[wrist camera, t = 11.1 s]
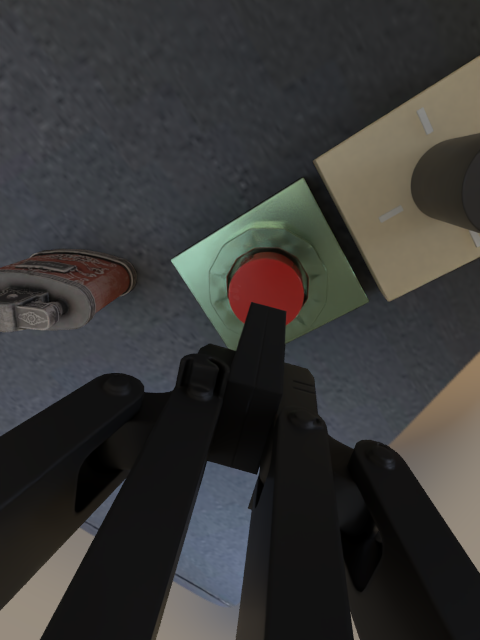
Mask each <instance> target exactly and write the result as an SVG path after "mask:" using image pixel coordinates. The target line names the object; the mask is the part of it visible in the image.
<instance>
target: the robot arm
mask: <svg viewBox="0 0 480 640" xmlns="http://www.w3.org/2000/svg"><path fill="white" fill-rule="evenodd" d="M286 312H287V311H284V310H280V309H277V308H273V307H269V306H265V305H262V304H258V303H254V302H251V304H250V307H249V311H248V314H247V317H246V320H245V323H244V327H243V330H242V333H241V336H240V339H239V343H238V346H237V349H236V351H235V350H231V349H228V348H224V347H220V346H216V345H213V344H208V345H206V346H204V347H202V348H200V350H199V352H198V354H189V355H186V356H184V357H183V358H182V359H181V361H180V366H179V371H178V376H177V381H176V386H175V388H174V390H173V391H170V392H165V393H148V392H144V385H143V384H142V383H141V381H140V380H138V379H136V378H135V377H133V376H130V375H127V374H122V373H121V374H120V373H111V374H104V375H102V376H99V377H97V378H95V379H93V380H92V381H90V382H88V383H87V384H85V385H84V386H82V387H80V388H79V389H77V390H75V391H74V392H72V393H71V394H69V395H67V396H66V397H64V398H62V399H61V400H59V401H57V402H56V403H54V404H53V405H51V406H49V407H48V408H46V409H44V410H43V411H41V412H39V413H38V414H36V415H35V416H33V417H31V418H30V419H28V420H26V421H25V422H23V423H22V424H20V425H18V426H17V427H15V428H13V429H12V430H10V431H8V432H7V433H5V434H4V435H2V436H0V610H1V609H2V608H3V607H4V606H5V605H6V604H7V603H8V602H9V601H10V600H11V599H12V598H13V597H14V595H15V594H16V593H17V592H18V591H19V590H20V589H21V588H22V587H23V586H24V585H25V584H26V583H27V582H28V581H29V580H30V579H31V578H32V576H34V575H35V573H36V572H37V571H38V570H39V569H40V568H41V567H42V566H43V565H44V564H45V563H46V562H47V561H48V560H49V559H50V558H51V557H52V556H53V554H54V553H55V552H56V551H57V550H58V549H59V548H60V547H61V546H62V545H63V544H64V543H65V542H66V541H67V540H68V539H69V538H70V536H72V534H73V533H74V532H75V531H76V530H77V529H78V528H79V527H80V526H81V525H82V524H83V523H84V522H85V521H86V520H87V519H88V518H89V517H90V516H91V514H92V513H93V512H94V511H95V510H96V509H97V508H98V507H99V506H100V505H101V504H102V503H103V502H104V501H105V500H106V499H107V498H108V497H109V495H110V494H111V493H112V492H113V491H114V490H115V489H116V488H117V487H118V486H119V485H120V484H121V483H122V482H123V481H124V480H125V479H126V480H125V482H124V483H123V485H122V487H121V489H120V491H119V493H118V495H117V496H116V498H115V500H114V502H113V504H112V506H111V508H110V510H109V511H108V513H107V515H106V517H105V519H104V521H103V523H102V525H101V526H100V528H99V530H98V532H97V534H96V536H95V538H94V540H93V541H92V543H91V545H90V547H89V549H88V551H87V553H86V555H85V557H84V558H83V560H82V562H81V564H80V566H79V568H78V569H77V571H76V574H75V575H74V577H73V579H72V581H71V583H70V585H69V586H68V588H67V590H66V592H65V594H64V596H63V598H62V600H61V602H60V603H59V605H58V607H57V609H56V611H55V613H54V614H53V616H52V618H51V620H50V622H49V624H48V626H47V628H46V629H45V631H44V633H43V635H42V637H41V639H40V640H156V637H157V634H158V630H159V627H160V623H161V620H162V616H163V613H164V609H165V606H166V602H167V599H168V596H169V592H170V588H171V585H172V582H173V578H174V575H175V571H176V568H177V564H178V561H179V557H180V554H181V551H182V547H183V544H184V540H185V537H186V533H187V530H188V526H189V523H190V519H191V516H192V512H193V509H194V505H195V502H196V499H197V495H198V492H199V488H200V485H201V481H202V478H203V474H204V471H205V467H206V463H207V461H210V462H214V463H217V464H221V465H224V466H228V467H231V468H235V469H239V470H242V471H246V472H249V473H253V474H256V475H257V473H258V470H259V467H260V472H259V476H258V479H257V482H256V485H255V488H254V491H253V494H252V497H251V500H250V503H249V507H248V509H252V513H251V521H250V529H249V537H248V545H247V553H246V561H245V569H244V577H243V585H242V593H241V601H240V609H239V618H238V626H237V634H236V640H354V638H353V630H352V623H351V614H352V618H353V621H354V624H355V627H356V629H357V633H358V636H359V638H360V640H480V573H479V572H478V571H477V569H476V567H475V566H474V564H473V563H472V561H471V560H470V558H469V557H468V555H467V554H466V552H465V551H464V549H463V548H462V546H461V545H460V543H459V542H458V540H457V539H456V537H455V536H454V534H453V533H452V531H451V530H450V528H449V527H448V525H447V524H446V522H445V521H444V519H443V518H442V516H441V515H440V513H439V512H438V510H437V509H436V507H435V506H434V504H433V503H432V501H431V500H430V498H429V497H428V495H427V494H426V492H425V491H424V489H423V488H422V486H421V485H420V483H419V482H418V480H417V479H416V477H415V476H414V474H413V473H412V471H411V470H410V468H409V467H408V465H407V464H406V462H405V461H404V460H403V458H402V457H401V456H400V455H399V454H398V453H397V452H395V451H394V450H393V449H391V448H390V447H389V446H387V445H384V444H383V443H380V442H376V441H372V440H361V441H359V442H358V443H356V445H355V448H354V449H352V448H350V447H348V446H346V445H344V444H342V443H340V442H339V441H337V440H335V439H333V438H332V437H331V436H329V435H328V432H327V426H326V424H325V421H324V420H323V419H322V418H321V417H320V416H319V415H318V410H317V401H316V395H315V394H316V391H315V381H314V377H313V376H312V374H311V373H310V371H309V370H308V369H306V368H302V367H298V366H295V365H291V364H287V363H284V355H285V333H286ZM378 530H379V531H378ZM350 612H351V614H350Z"/></svg>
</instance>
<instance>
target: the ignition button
mask: <svg viewBox="0 0 480 640" xmlns="http://www.w3.org/2000/svg"><path fill="white" fill-rule="evenodd" d="M228 297H229V302H230V306H231V308H232V310H233V312H234V314H235V315H236V316H237V318H238V319H239V320H240V321H242V322H243V323H245V320H246V317H247V314H248V311H249V307H250V304H251V302H254V303H258V304H262V305H265V306H269V307H273V308H277V309H280V310H284V311H287V312H286V325H287V324H289V323H290V322H291V321H293V320H294V319H295V318H296V316H297V315H298V314H299V312H300V310H301V308H302V305H303V301H304V288H303V280H302V276H301V273H300V271H299V269H298V268H297V266H296V265H295V264H294V263H293V262H292V261H291V260H290V259H289V258H287V257H286V256H284V255H281V254H279V253H275V252H260V253H256V254H254V255H252V256H250V257H248V258H247V259H245V260H244V261H243V262H242V263H241V264H240V265H239V267H238V268H237V270H236V272H235V274H234V275H233V277H232V279H231V282H230V285H229V290H228Z"/></svg>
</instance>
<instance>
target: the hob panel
mask: <svg viewBox="0 0 480 640" xmlns="http://www.w3.org/2000/svg"><path fill="white" fill-rule="evenodd" d="M477 133H480V55H479V56H478V57H476V58H475V59H473V60H471V61H470V62H468V63H467V64H465V65H463V66H462V67H460V68H459V69H457V70H456V71H454V72H452V73H451V74H449V75H448V76H446V77H444V78H443V79H441V80H440V81H438V82H437V83H435V84H433V85H432V86H430V87H429V88H427V89H425V90H424V91H422V92H421V93H419V94H418V95H416V96H414V97H413V98H411V99H410V100H408V101H406V102H405V103H403V104H402V105H400V106H398V107H397V108H395V109H394V110H392V111H391V112H389V113H387V114H386V115H384V116H383V117H381V118H379V119H378V120H376V121H375V122H373V123H372V124H370V125H368V126H367V127H365V128H364V129H362V130H360V131H359V132H357V133H356V134H354V135H353V136H351V137H349V138H348V139H346V140H345V141H343V142H341V143H340V144H338V145H337V146H335V147H334V148H332V149H330V150H329V151H327V152H326V153H324V154H322V155H321V156H319V157H318V158H316V159H314V160H313V163H314V165H315V167H316V169H317V171H318V173H319V175H320V177H321V178H322V180H323V182H324V184H325V186H326V188H327V190H328V192H329V194H330V196H331V198H332V200H333V202H334V203H335V205H336V207H337V209H338V211H339V213H340V215H341V217H342V219H343V221H344V223H345V225H346V226H347V228H348V230H349V232H350V234H351V236H352V238H353V240H354V242H355V244H356V246H357V248H358V249H359V251H360V253H361V255H362V257H363V259H364V261H365V263H366V265H367V267H368V269H369V271H370V273H371V274H372V276H373V278H374V280H375V282H376V284H377V286H378V288H379V290H380V291H381V293H382V294H383V295H384V297H385V298H386V299H387V301H388V302H389V301H392V300H394V299H396V298H398V297H400V296H402V295H404V294H406V293H408V292H410V291H412V290H414V289H416V288H418V287H420V286H422V285H424V284H426V283H428V282H430V281H432V280H434V279H436V278H438V277H440V276H442V275H444V274H446V273H448V272H450V271H452V270H454V269H456V268H458V267H460V266H462V265H464V264H466V263H468V262H470V261H472V260H474V259H476V258H478V257H480V233H477V232H474V231H471V230H468V229H465V228H461V227H458V226H455V225H452V224H449V223H446V222H443V221H440V220H437V219H434V218H431V217H429V216H427V215H425V214H424V213H422V212H421V211H420V210H419V209H418V207H417V206H416V204H415V203H414V200H413V198H412V194H411V178H412V174H413V171H414V168H415V166H416V164H417V163H418V161H419V160H420V158H421V157H422V156H423V155H424V154H425V153H426V152H427V151H428V150H429V149H430V148H431V147H433V146H434V145H436V144H438V143H440V142H442V141H445V140H449V139H453V138H458V137H463V136H468V135H473V134H477Z"/></svg>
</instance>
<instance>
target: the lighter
mask: <svg viewBox="0 0 480 640" xmlns="http://www.w3.org/2000/svg"><path fill="white" fill-rule="evenodd" d="M136 280H137V276H136V271H135V269H134V267H133V265H132V264H131V263H130V262H128V261H127V260H125V259H122V258H118V257H115V256H112V255H108V254H105V253H100V252H94V251H89V250H82V249H56V250H46V251H41V252H38V253H35V254H33V255H32V256H31V257H30V258H29V259H26V260H23V261H20V262H17V263H14V264H11V265H8V266H5V267H2V268H0V332H14V331H18V330H25V329H36V330H66V329H77V328H81V327H83V326H84V325H85V324H87V323H88V322H89V321H90V320H92V318H93V316H94V314H95V313H96V312H98V311H99V310H101V309H102V308H103V307H105V306H106V305H107V304H109V303H110V302H112V301H113V300H114V299H116V298H117V297H119V296H123V295H126V294H127V293H129V292H130V291H131V290H132V289H133V288H134V286H135V285H136Z"/></svg>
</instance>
